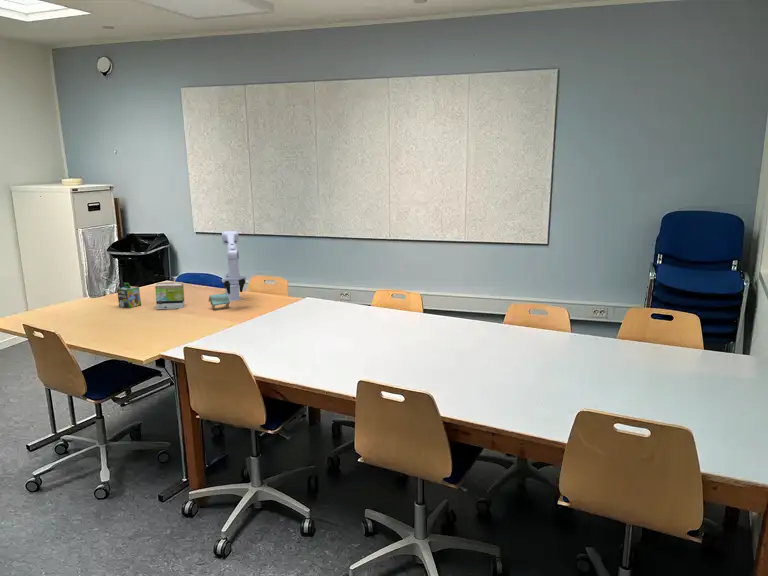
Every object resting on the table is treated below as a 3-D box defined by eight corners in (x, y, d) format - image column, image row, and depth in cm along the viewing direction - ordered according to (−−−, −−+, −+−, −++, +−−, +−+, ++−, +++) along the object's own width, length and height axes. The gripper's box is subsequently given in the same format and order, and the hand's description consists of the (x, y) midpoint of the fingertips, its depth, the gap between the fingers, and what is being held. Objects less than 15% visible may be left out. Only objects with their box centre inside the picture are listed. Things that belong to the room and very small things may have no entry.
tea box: (156, 310, 334) (154, 285, 331) (159, 306, 343) (157, 282, 340) (183, 308, 337) (181, 284, 334) (185, 304, 347) (183, 281, 344)
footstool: (208, 300, 336) (209, 295, 333) (224, 298, 342) (226, 293, 339) (212, 309, 333) (213, 304, 330) (228, 307, 339) (230, 302, 336)
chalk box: (141, 305, 345) (139, 281, 342) (128, 308, 337) (126, 284, 334) (131, 303, 349) (128, 280, 346) (118, 306, 341) (115, 283, 338)
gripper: (224, 272, 325) (226, 295, 328) (248, 269, 333) (249, 292, 336) (219, 270, 330) (221, 293, 333) (243, 268, 339) (244, 290, 342)
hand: (235, 292), depth 335 cm, fingers open, 7 cm apart
